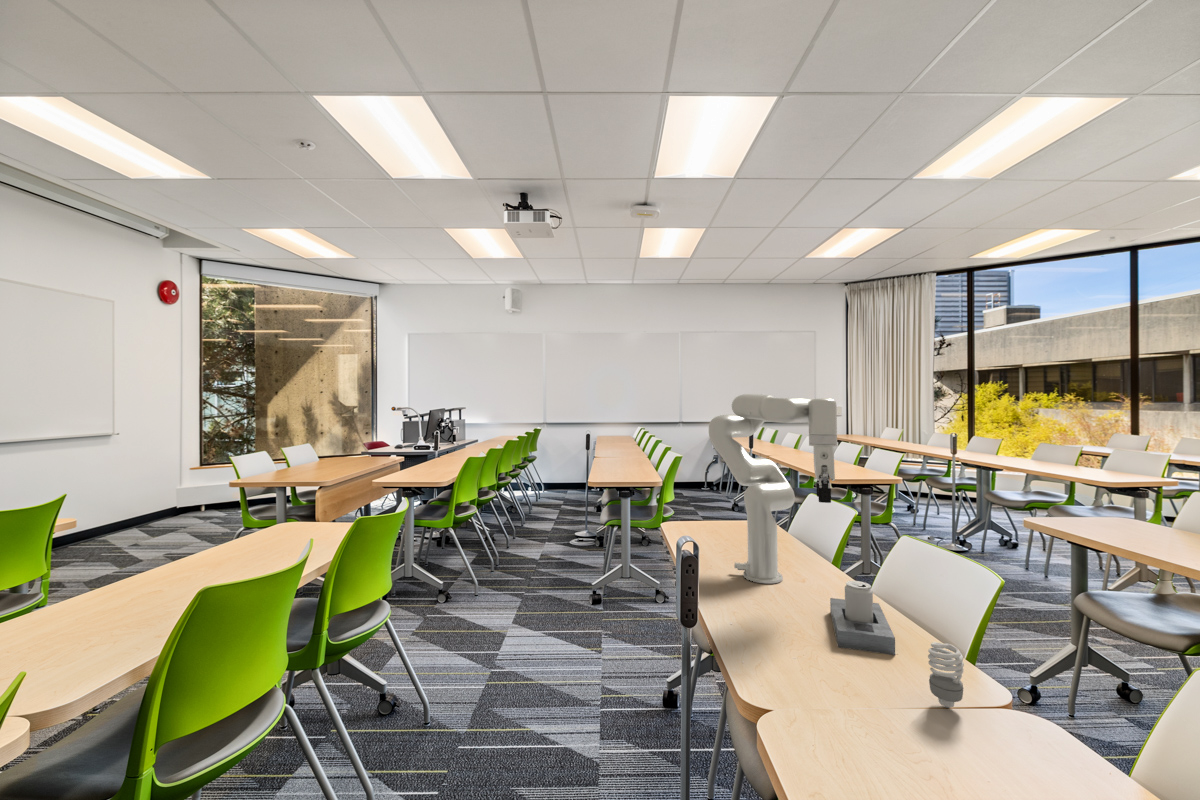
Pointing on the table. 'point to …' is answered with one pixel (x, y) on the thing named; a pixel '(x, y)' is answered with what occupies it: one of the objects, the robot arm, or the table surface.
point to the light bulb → (946, 674)
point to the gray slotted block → (862, 630)
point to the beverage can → (858, 601)
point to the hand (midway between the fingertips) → (823, 499)
